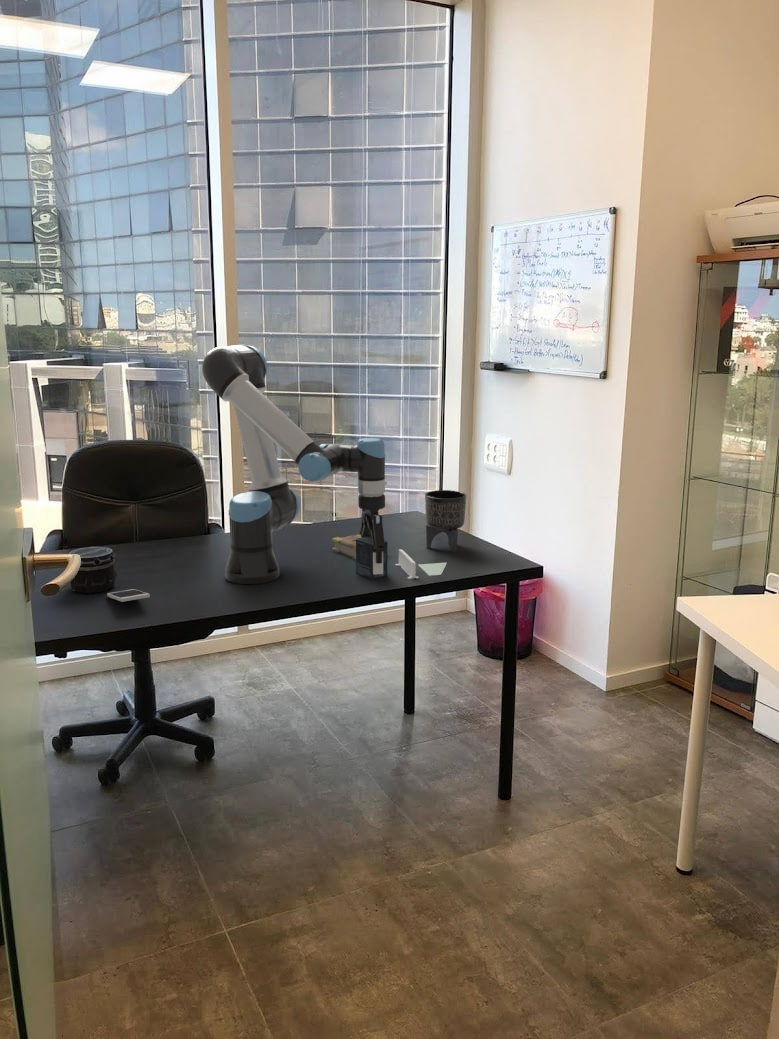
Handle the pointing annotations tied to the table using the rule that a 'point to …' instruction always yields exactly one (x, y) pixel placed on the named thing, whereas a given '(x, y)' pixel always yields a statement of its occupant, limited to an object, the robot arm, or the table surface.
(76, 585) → the container
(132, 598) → the smartphone
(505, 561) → the table surface
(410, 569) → the handle
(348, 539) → the book
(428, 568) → the pad
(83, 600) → the table surface
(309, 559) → the table surface
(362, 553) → the box
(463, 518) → the planter
